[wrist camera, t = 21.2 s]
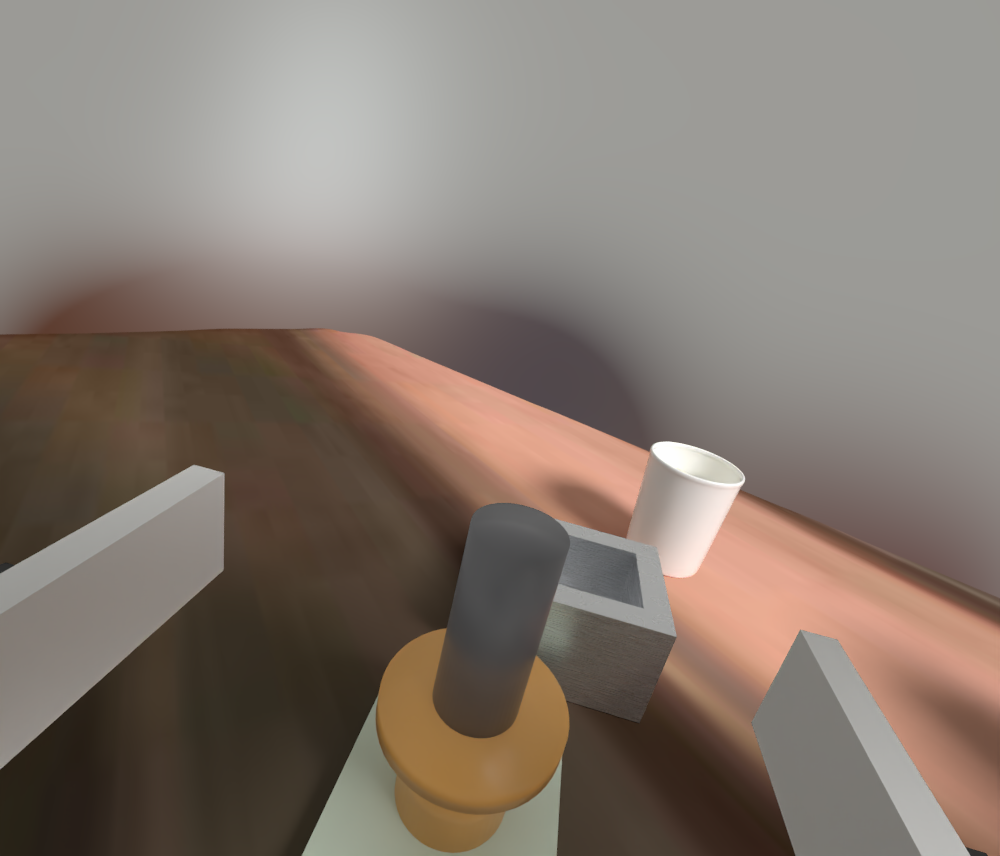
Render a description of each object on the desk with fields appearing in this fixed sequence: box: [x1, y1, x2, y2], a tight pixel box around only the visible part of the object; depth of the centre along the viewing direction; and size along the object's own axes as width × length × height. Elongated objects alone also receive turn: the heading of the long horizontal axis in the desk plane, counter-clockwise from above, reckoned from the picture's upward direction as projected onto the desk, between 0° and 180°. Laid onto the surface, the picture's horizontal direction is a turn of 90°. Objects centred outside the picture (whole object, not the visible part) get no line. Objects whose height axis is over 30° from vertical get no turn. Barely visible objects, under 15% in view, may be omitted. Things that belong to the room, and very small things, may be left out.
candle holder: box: [626, 442, 745, 578], centre depth 57 cm, size 10×10×12 cm
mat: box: [302, 694, 562, 856], centre depth 29 cm, size 12×12×2 cm
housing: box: [536, 519, 677, 723], centre depth 41 cm, size 11×11×8 cm
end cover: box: [375, 503, 570, 853], centre depth 26 cm, size 10×10×17 cm
